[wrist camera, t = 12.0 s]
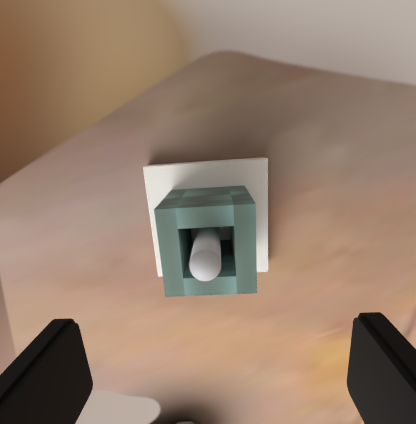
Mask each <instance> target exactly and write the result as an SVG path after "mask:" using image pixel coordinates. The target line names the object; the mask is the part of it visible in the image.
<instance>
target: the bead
mask: <svg viewBox="0 0 416 424" xmlns="http://www.w3.org/2000/svg"><path fill="white" fill-rule="evenodd" d="M154 214H155V221H156V229H157V236H158V244H159V251H160V259H161V266H162V274H163V281H164V289H165V297H173V296H198V295H224V294H249V293H257V258H256V203H255V202H254V200H253V198H252V197H251V195H250V194H249V192H248V190H247V189H246V187H245V186H244V185H243V186H226V187H210V188H193V189H177V190H171V191H170V192H169V193H168V194H167V195H166V196H165V198H164V199H163V200H162V201H161V202H160V203H159V204H158V206H157V207H156V208H155V209H154ZM225 226H230V234H231V240H220V247H221V270H220V272H219V274H218V275H217V277H215V278H214V279H212V280H210V281H200V280H198V279H196V278H195V277H194V276H193V275H192V273H191V271H190V268H189V262H190V257H191V253H192V248H193V243H194V242H192V238H191V228H206V227H225Z"/></svg>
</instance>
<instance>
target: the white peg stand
mask: <svg viewBox="0 0 416 424" xmlns="http://www.w3.org/2000/svg"><path fill="white" fill-rule="evenodd" d="M143 171H144V178H145V185H146V192H147V199H148V206H149V214H150V221H151V228H152V235H153V242H154V249H155V257H156V264H157V271H158V277H159V276H163V274H162V266H161V259H160V251H159V244H158V236H157V229H156V221H155V214H154V209H155V208H156V207H157V206H158V204H159V203H160V202H161V201H162V200H163V199H164V198H165V196H166V195H167V194H168V193H169V192H170V191H171V190H177V189H193V188H210V187H226V186H243V185H244V186H245V187H246V189H247V190H248V192H249V194H250V195H251V197H252V198H253V200H254V202H255V203H256V258H257V272H268V158H265V157H260V158H245V159H230V160H215V161H200V162H185V163H170V164H155V165H146V166H144V167H143ZM191 238H192V242H194V243H193V248H192V253H191V257H190V262H189V268H190V271H191V273H192V275H193V276H194V277H195V278H196V279H198V280H200V281H210V280H212V279H214V278H215V277H217V275H218V274H219V272H220V270H221V247H220V240H231V234H230V226H225V227H206V228H191Z"/></svg>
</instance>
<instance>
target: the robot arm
mask: <svg viewBox="0 0 416 424" xmlns="http://www.w3.org/2000/svg"><path fill="white" fill-rule="evenodd" d="M92 387H93V381H92V377H91V373H90V369H89V365H88V361H87V357H86V353H85V349H84V345H83V341H82V337H81V333H80V329H79V325H78V324H77V323H75V322H74V320H73V319H54V320H53V321H51V322H50V323H49V324H48V325H47V326H46V327H45V329H44V330H43V331H42V332H41V333H40V334H39V335H38V336H37V337H36V338H35V339H34V340H33V341H32V342H31V343H30V344H29V345H28V346H27V347H26V349H25V350H24V351H23V352H22V353H21V354H20V355H19V356H18V357H17V358H16V359H15V360H14V361H13V362H12V363H11V364H10V365H9V366H8V367H7V369H6V370H5V371H4V372H3V373H2V374H1V375H0V424H75V423H76V420H77V419H78V417H79V415H80V413H81V411H82V409H83V407H84V405H85V404H86V402H87V400H88V397H89V396H90V394H91V391H92ZM347 387H348V391H349V393H350V396H351V398H352V400H353V402H354V404H355V406H356V408H357V410H358V412H359V413H360V415H361V417H362V419H363V421H364V423H365V424H416V349H415V348H414V347H413V346H412V345H411V344H410V343H409V342H408V341H407V340H406V338H405V337H404V336H403V335H402V334H401V333H400V332H399V331H398V330H397V329H396V328H395V327H394V326H393V324H392V323H391V322H390V321H389V320H388V319H387V318H386V317H385V316H384V315H383V314H382V313H379V312H375V313H360V314H359V316H358V318H354V321H353V329H352V338H351V347H350V357H349V366H348V375H347Z"/></svg>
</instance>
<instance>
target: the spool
mask: <svg viewBox="0 0 416 424" xmlns="http://www.w3.org/2000/svg"><path fill="white" fill-rule="evenodd" d="M176 424H195V423H193V422H191V421H184V422H178V423H176Z"/></svg>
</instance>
